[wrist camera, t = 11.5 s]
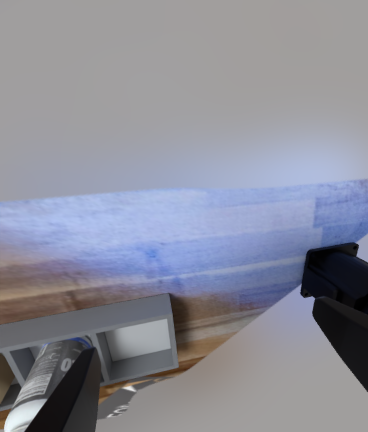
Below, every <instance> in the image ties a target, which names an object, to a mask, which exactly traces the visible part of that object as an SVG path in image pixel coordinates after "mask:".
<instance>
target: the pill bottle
mask: <svg viewBox="0 0 368 432" xmlns="http://www.w3.org/2000/svg"><path fill="white" fill-rule="evenodd" d="M89 347H92V343H91V342H90V340H89V339H88V338H87V337H85V336H81V337H76V338H71V339H66V340H61V341H57V342H52V343H47V344H44V345H43V347H42V349H41V351H40V353H39V355H38V357H37V359H36V361H35V363H34V365H33V367H32V369H31V371H30V373H29V375H28V377H27V379H26V381H25V383H24V385H23V387H22V389H21V391H20V393H19V395H18V397H17V399H16V401H15V403H14V405H13V407H12V409H11V411H10V413H9V415H8V417H7V419H6V422H5V426H4V432H24V431H25V430H26V428H27V427H28V426H29V424H30V423H31V421H32V420H33V419H34V417H35V416H36V414H37V413H38V412H39V410H40V409H41V407H42V406H43V405H44V403H45V402H46V400H47V399H48V398H49V396H50V395H51V393H52V392H53V391H54V389H55V388H56V386H57V385H58V384H59V382H60V381H61V379H62V378H63V377H64V375H65V374H66V373H67V371H68V370H69V368H70V367H71V366H72V364H73V363H74V361H75V360H76V359H77V357H78V356H79V354H80V353H81V352H82V350H83V349H85V348H89Z"/></svg>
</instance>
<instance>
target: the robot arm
mask: <svg viewBox="0 0 368 432" xmlns="http://www.w3.org/2000/svg"><path fill="white" fill-rule="evenodd" d="M358 248H359V245H358V244H356V243H354V242H352V243H346V244H340V245H335V246H329V247H323V248H317V249H312V250H309V251H308V252H307V255H306V261H305V267H304V273H303V280H302V286H301V292H300V294H301V295H302V296H303V297H304V298H306V297H311V296H313V297H314V298H315V302H314V306H313V311H312V314H313V317H314V319H315V321H316V322H317V324H318V325H319V326H320V328H321V330H322V331H323V332H324V334H325V336H326V337H327V339H328V340H329V342H330V343H331V345H332V346H333V348H334V349H335V350H336V352H337V353H338V355H339V356H340V357H341V358H342V360H343V361H344V363H345V364H346V365H347V366H348V368H349V369H350V370H351V371H352V373H353V374H354V375H355V377H356V378H357V379H358V380H359V382H360V383H361V384H362V385H363V387H364V388H365V389H366V390H367V392H368V263H367V262H366V261H364V260H362V259H360V258H358V257H356V255H357V251H358ZM100 377H101V360H100V357H99V354H98V351H97V348H96V347H89V348H85V349H83V350H82V352H81V353H80V354H79V356H78V357H77V359H76V360H75V361H74V363H73V364H72V366H71V367H70V368H69V370H68V371H67V373H66V374H65V375H64V377H63V378H62V379H61V381H60V382H59V384H58V385H57V386H56V388H55V389H54V391H53V392H52V393H51V395H50V396H49V398H48V399H47V400H46V402H45V403H44V405H43V406H42V407H41V409H40V410H39V412H38V413H37V414H36V416H35V417H34V419H33V420H32V421H31V423H30V424H29V426H28V427H27V428H26V430H25V431H24V432H95V428H96V421H97V412H98V400H99V389H100Z"/></svg>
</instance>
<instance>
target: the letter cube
mask: <svg viewBox="0 0 368 432" xmlns="http://www.w3.org/2000/svg"><path fill="white" fill-rule="evenodd" d="M14 378H15V375H14V373H13V371H12V369H11V367H10V366H9V364H8V362H7V360H6V358H5V357H4V356H3V355H2V354H1V353H0V404H1V402H2V400H3V398H4V396H5V394H6V392H7V391H8V389H9V387H10V385H11V383H12V381H13V379H14Z"/></svg>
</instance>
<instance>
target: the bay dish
mask: <svg viewBox="0 0 368 432" xmlns="http://www.w3.org/2000/svg"><path fill="white" fill-rule="evenodd" d="M81 336H85V337H87V338H88V339H89V340H90V342H91V343H92V347H96V348H97V351H98V354H99V357H100V360H101V377H100V386H104V385H109V384H113V383H117V382H121V381H125V380H129V379H133V378H137V377H141V376H145V375H149V374H154V373H158V372H162V371H166V370H170V369H174V368H178V367H179V366H178V357H177V349H176V340H175V331H174V323H173V314H172V308H171V302H170V297H169V293H167V294H162V295H156V296H151V297H146V298H140V299H135V300H130V301H124V302H119V303H114V304H108V305H103V306H98V307H92V308H87V309H82V310H76V311H71V312H66V313H61V314H55V315H50V316H45V317H39V318H34V319H29V320H23V321H18V322H13V323H7V324H2V325H0V353H1V354H2V355H3V356H4V357H5V358H6V360H7V362H8V364H9V366H10V367H11V369H12V371H13V373H14V375H15V378H14V379H13V381H12V383H11V385H10V387H9V389H8V391H7V392H6V394H5V396H4V398H3V400H2V402H1V404H0V411H2V410H6V409H10V408H12V407H13V405H14V403H15V401H16V399H17V397H18V395H19V393H20V391H21V389H22V387H23V385H24V383H25V381H26V379H27V377H28V375H29V373H30V371H31V369H32V367H33V365H34V363H35V361H36V359H37V357H38V355H39V353H40V351H41V349H42V347H43V345H44V344H47V343H52V342H57V341H61V340H66V339H71V338H76V337H81Z"/></svg>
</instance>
